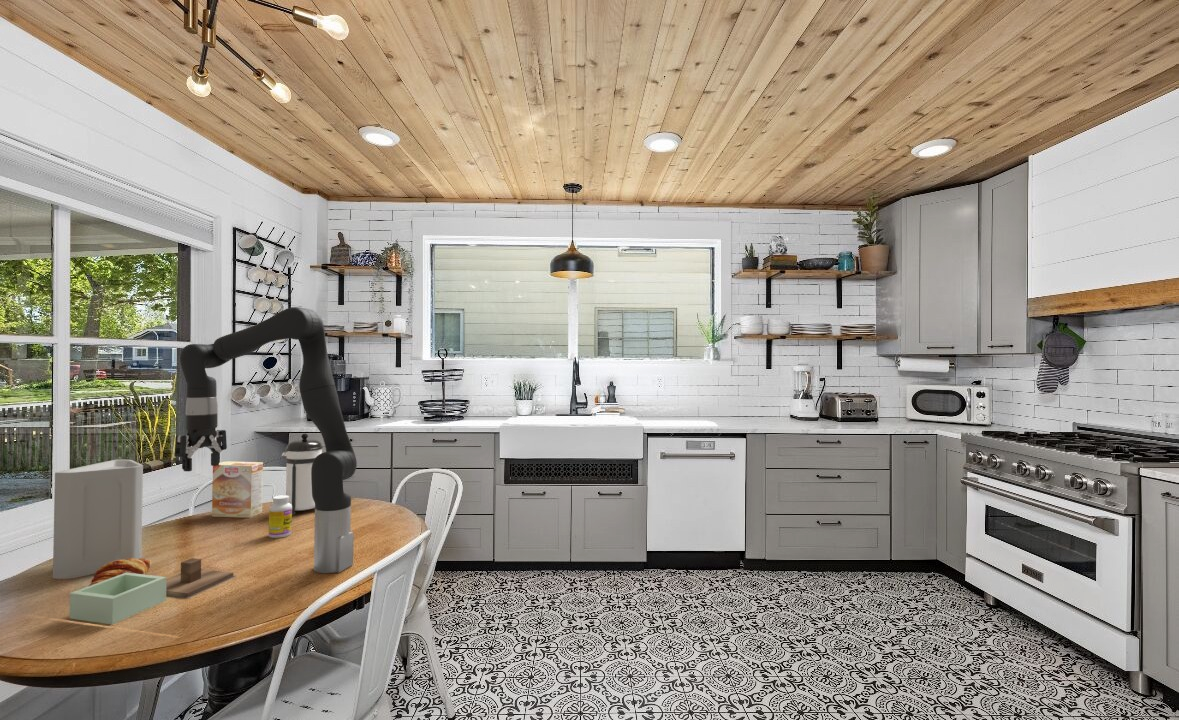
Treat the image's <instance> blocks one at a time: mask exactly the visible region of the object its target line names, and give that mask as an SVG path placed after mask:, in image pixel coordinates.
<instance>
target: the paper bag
mask: <svg viewBox="0 0 1179 720" xmlns="http://www.w3.org/2000/svg"><path fill="white" fill-rule="evenodd" d="M143 470H144V465H143V464H141V463H139V462H137V461H135V460H132V459H112V460H108V461H102V462H97V463H92V464H87V465H83V466H78V467H74V468H69V469H64V470H60V471H59V470H58V471H55V472H54V493H53V494H54V500H53V501H54V502H53V504H54V505H53V508H54V509H53V545H52V546H53V547H52V548H53V549H52V551H53V553H52V554H53V558H52V559H53V560H52V561H53V562H52V579H53V580H54V579H58V580H59V579H61V580H62V579H63V580H64V579H67V580H68V579H75V578H79V577H80V578H81V577H84V576H85V575H86V576H91V575H90V574H92V575H95V573H96V572H97V570H98V569H100V568H101V567H102V566H103V565H105V564H107V563H110V562H112V561H115V560H125V559H128V558H134V559H139V558H142V547H143V546H142V542H143V541H142V538H143V537H142V535H143V532H142V531H143V528H142V527H143V488H144V487H143V484H144V483H143V477H144V471H143Z"/></svg>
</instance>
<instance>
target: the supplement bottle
mask: <svg viewBox="0 0 1179 720" xmlns="http://www.w3.org/2000/svg"><path fill="white" fill-rule="evenodd" d="M288 501H289V496H287V495H286V494H283V495H281V494H280V495H276V496H273V497H272V502H273V504H271V505H270V507H269V509H268V511H269V512H268V536H269V538H273V539H280V538H286V537H288V536H290V535H291V534H292V528H293V526H292V523H293V521H292V520H293V516H292V505H291V504H290V503H288Z"/></svg>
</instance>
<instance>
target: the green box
mask: <svg viewBox="0 0 1179 720" xmlns="http://www.w3.org/2000/svg"><path fill="white" fill-rule="evenodd" d="M167 579H168V577H167V576H161V575H151V574H146V575H144V574H136V573H127V572H126V573H124V574H121V575H118V576H115V577H113V578H110V579H107V580H104V581H102V582H99V583H96V584H94V585H91V586H89V585H87V586H85V587H82V588H80V589H77V590H74V591H72V592H70V593H69V620H72V621H75V620H76V621H77V620H79V622H81V623H82V621H83V622H86V623H88V624H89V622H90V623H93V624H96V623H97V624H100V625H102V626H103V624H104V625H106V624H107V626H109V627H110V625H115V624H117V623H119V622H121V621H123V620H126V619H127V618H130V617H133V616H134V615H137V614H139V613H141V612H144V611H146V610H149V609H150V608H152V607H153V608H154V606H155V607H156V606H157V605H160V604H161V603H164V602H166V601H167V596H166V580H167Z"/></svg>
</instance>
